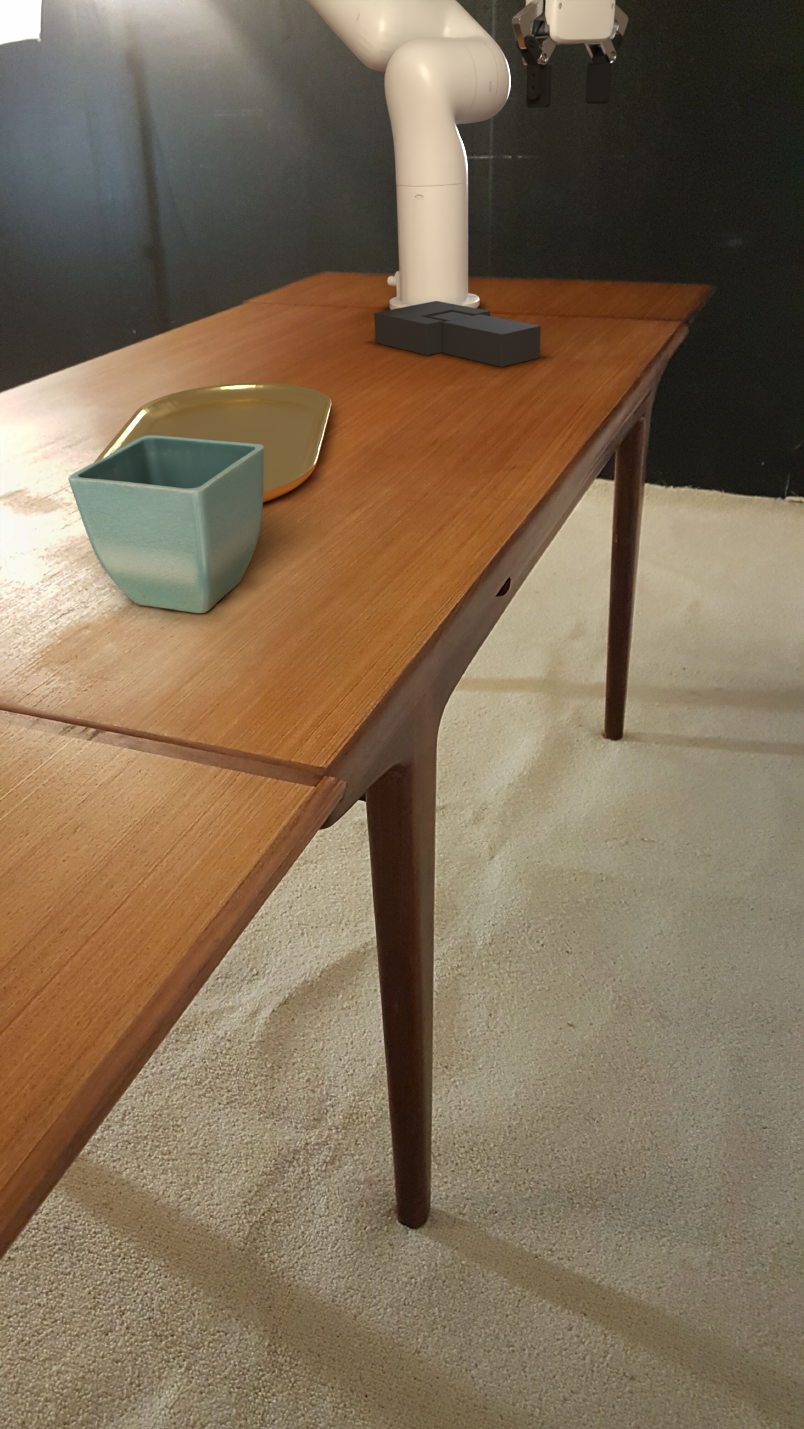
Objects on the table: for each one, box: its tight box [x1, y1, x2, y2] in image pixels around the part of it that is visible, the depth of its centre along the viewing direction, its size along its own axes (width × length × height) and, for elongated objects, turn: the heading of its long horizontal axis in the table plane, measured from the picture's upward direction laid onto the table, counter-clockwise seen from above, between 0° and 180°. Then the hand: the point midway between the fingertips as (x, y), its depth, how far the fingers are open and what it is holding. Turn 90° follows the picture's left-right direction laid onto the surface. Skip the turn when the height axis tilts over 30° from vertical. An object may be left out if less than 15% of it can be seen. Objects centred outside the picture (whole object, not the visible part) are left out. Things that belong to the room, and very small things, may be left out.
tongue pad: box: [430, 312, 542, 368], centre depth 119 cm, size 14×6×4 cm, turn 39°
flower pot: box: [67, 435, 264, 614], centre depth 64 cm, size 9×9×9 cm
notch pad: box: [373, 301, 491, 356], centre depth 125 cm, size 10×10×4 cm
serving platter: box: [93, 382, 332, 504], centre depth 91 cm, size 19×35×2 cm, turn 179°
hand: (568, 105), depth 117 cm, fingers open, 9 cm apart
